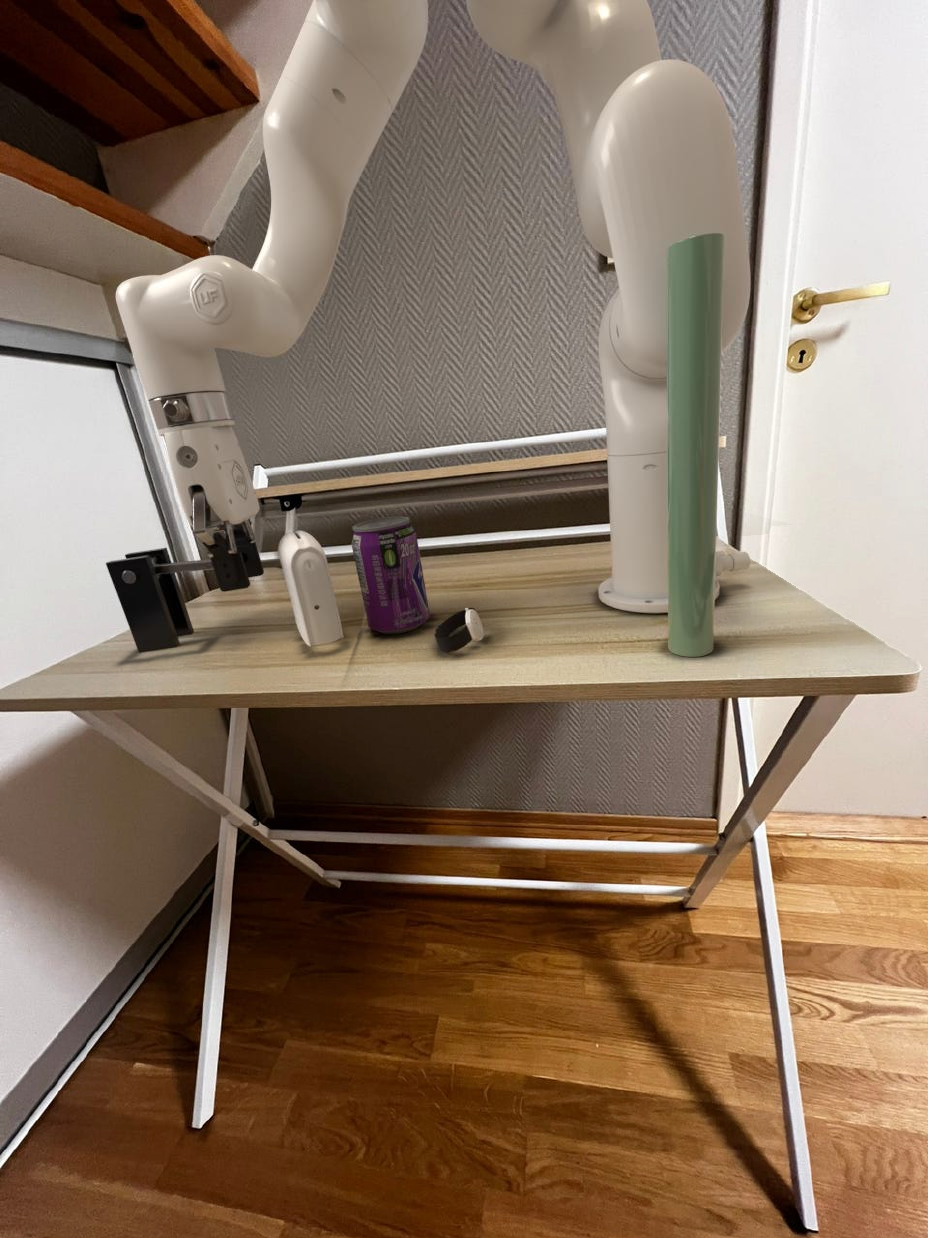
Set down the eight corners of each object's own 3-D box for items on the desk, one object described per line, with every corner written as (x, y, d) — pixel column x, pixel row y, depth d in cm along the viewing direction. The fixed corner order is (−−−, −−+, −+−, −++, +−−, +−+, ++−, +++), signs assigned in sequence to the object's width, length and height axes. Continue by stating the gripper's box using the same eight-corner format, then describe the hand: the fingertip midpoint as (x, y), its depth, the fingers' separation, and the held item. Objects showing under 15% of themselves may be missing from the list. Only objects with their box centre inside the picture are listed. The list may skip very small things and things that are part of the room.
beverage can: (421, 636, 57) (401, 525, 53) (360, 639, 59) (336, 532, 55) (437, 613, 64) (421, 512, 60) (382, 616, 66) (362, 519, 62)
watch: (475, 657, 51) (470, 621, 49) (427, 658, 52) (421, 623, 50) (489, 626, 58) (485, 594, 56) (447, 628, 59) (442, 597, 57)
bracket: (217, 635, 67) (188, 543, 63) (197, 654, 62) (164, 555, 58) (145, 646, 67) (111, 554, 63) (119, 666, 61) (80, 567, 57)
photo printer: (350, 647, 57) (324, 533, 53) (310, 659, 56) (280, 542, 51) (331, 622, 66) (308, 522, 62) (296, 631, 65) (270, 530, 60)
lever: (249, 567, 64) (245, 547, 63) (237, 576, 60) (232, 555, 59) (142, 576, 63) (136, 556, 63) (122, 587, 59) (116, 565, 58)
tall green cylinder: (700, 637, 48) (707, 247, 38) (721, 653, 45) (735, 229, 34) (661, 643, 48) (657, 253, 38) (679, 659, 45) (680, 236, 34)
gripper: (197, 407, 48) (254, 599, 54) (254, 413, 64) (292, 560, 70) (114, 420, 48) (180, 611, 54) (191, 423, 64) (236, 570, 70)
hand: (243, 581), depth 62 cm, fingers closed on lever, 4 cm apart
